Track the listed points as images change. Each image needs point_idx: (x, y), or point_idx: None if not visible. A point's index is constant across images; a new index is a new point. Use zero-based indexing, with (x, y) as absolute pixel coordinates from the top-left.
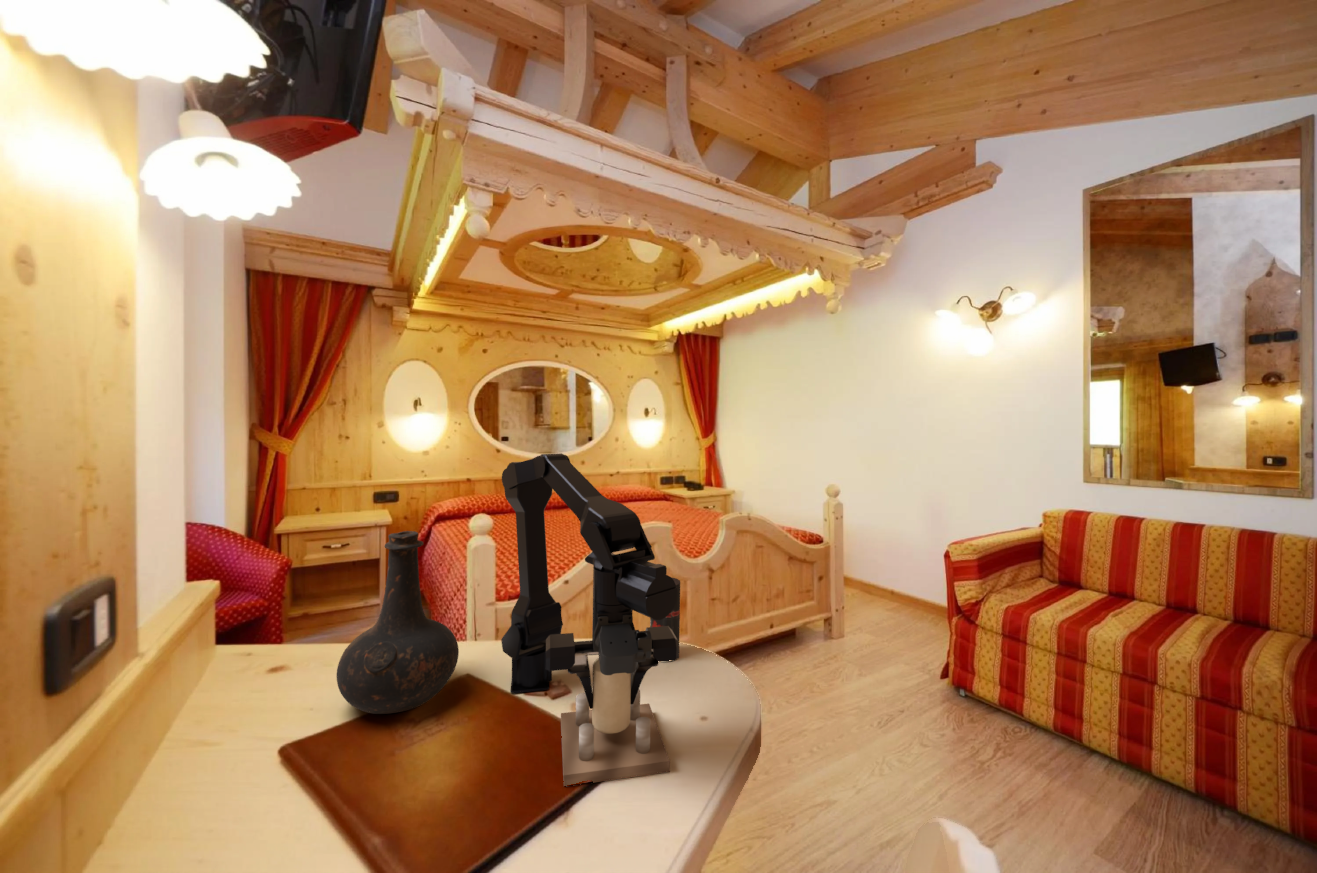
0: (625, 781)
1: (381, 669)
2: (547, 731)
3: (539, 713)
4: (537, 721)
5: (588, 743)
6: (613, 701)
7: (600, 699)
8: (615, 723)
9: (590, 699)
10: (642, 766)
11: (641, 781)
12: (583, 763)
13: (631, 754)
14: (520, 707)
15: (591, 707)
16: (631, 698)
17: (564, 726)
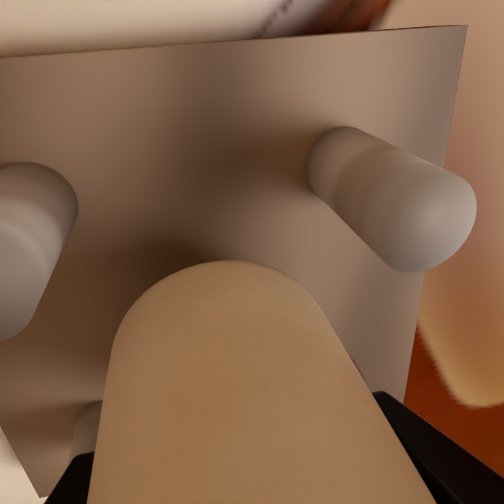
0: (132, 21)
1: None
2: (430, 349)
3: (438, 421)
4: (450, 389)
5: (379, 152)
6: (257, 426)
7: (380, 438)
8: (207, 295)
9: (426, 442)
10: (21, 57)
11: (37, 6)
12: (361, 109)
13: (100, 162)
14: (483, 439)
15: (380, 396)
16: (80, 495)
17: (401, 352)
